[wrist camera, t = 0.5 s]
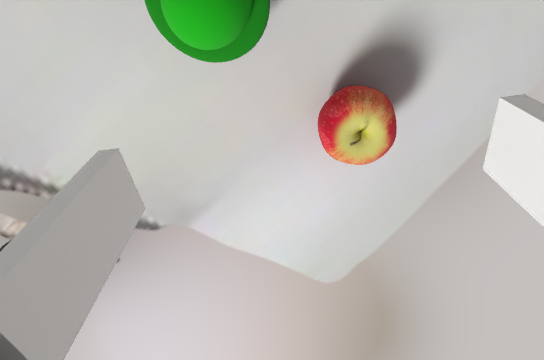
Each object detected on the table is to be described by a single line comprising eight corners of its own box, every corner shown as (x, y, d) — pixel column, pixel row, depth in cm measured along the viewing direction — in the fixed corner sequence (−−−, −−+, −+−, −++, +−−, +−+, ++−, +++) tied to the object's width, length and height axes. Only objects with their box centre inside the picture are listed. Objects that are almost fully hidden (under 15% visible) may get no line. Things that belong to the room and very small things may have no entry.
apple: (326, 67, 37) (341, 96, 28) (395, 85, 38) (430, 119, 29) (304, 132, 41) (312, 174, 32) (367, 147, 42) (391, 192, 34)
